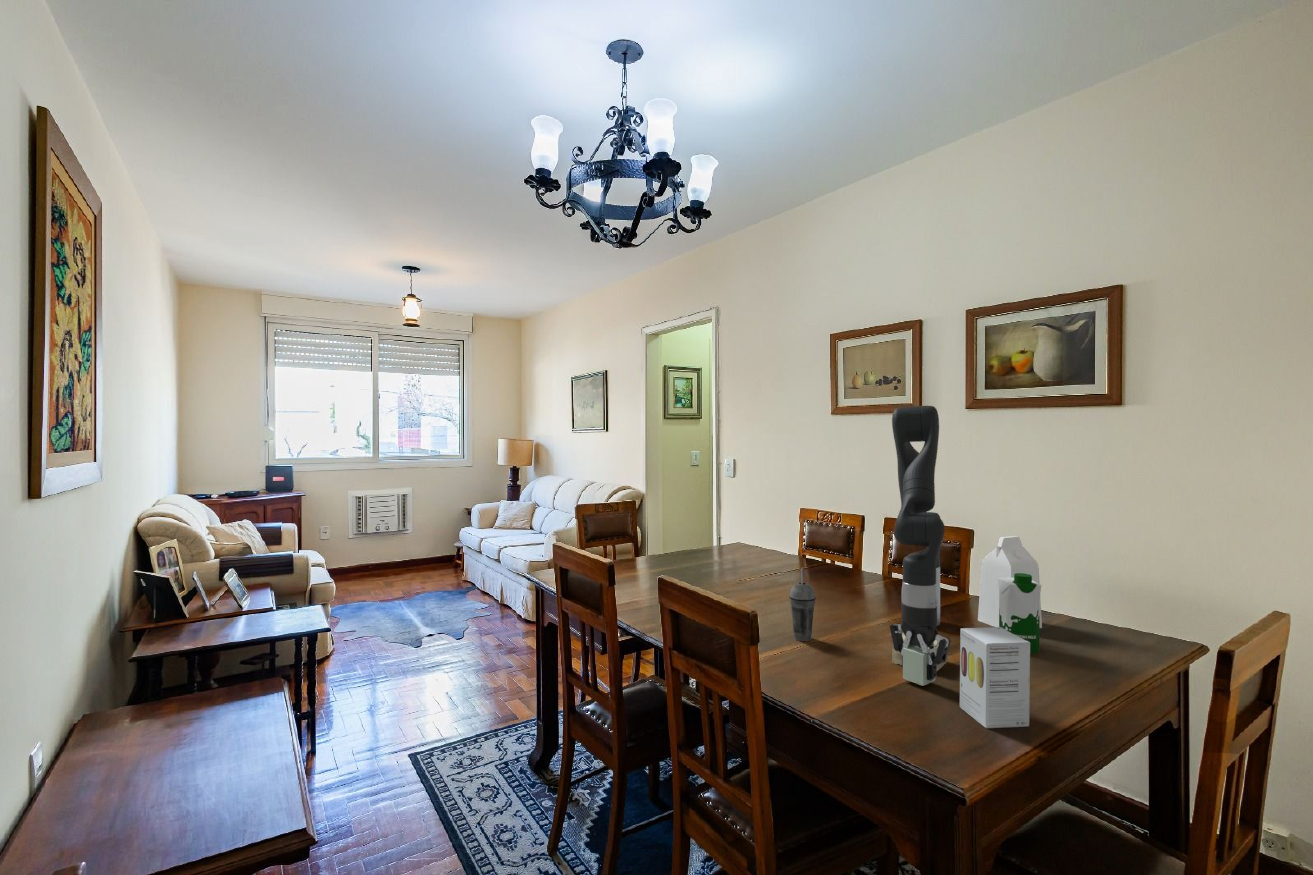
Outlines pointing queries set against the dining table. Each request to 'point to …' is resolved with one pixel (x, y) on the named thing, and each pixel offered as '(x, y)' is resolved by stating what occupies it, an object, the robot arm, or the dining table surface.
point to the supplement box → (995, 677)
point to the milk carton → (1020, 608)
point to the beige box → (898, 657)
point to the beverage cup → (802, 609)
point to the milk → (1003, 575)
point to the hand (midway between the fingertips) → (919, 675)
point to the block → (915, 665)
